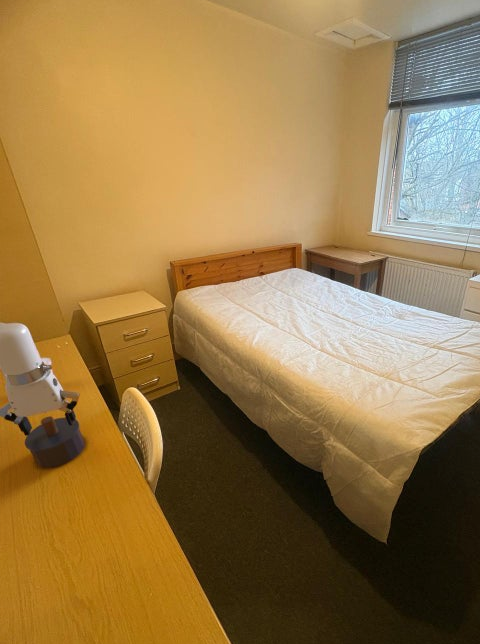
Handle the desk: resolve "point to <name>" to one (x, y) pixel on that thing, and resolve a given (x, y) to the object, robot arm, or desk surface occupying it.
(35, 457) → the pot
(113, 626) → the desk surface
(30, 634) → the desk surface
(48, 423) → the lid
